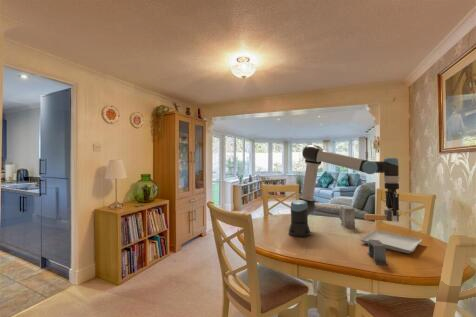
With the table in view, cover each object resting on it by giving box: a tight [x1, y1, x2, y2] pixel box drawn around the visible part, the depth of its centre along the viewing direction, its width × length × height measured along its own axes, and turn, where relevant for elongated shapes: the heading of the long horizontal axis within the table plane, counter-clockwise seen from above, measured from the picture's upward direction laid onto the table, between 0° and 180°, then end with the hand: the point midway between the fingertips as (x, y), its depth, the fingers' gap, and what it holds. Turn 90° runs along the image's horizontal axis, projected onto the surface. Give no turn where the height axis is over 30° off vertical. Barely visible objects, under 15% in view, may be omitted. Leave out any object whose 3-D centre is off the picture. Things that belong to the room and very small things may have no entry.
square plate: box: [359, 229, 423, 254], centre depth 142 cm, size 27×27×4 cm
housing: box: [367, 240, 389, 266], centre depth 120 cm, size 5×13×9 cm, turn 167°
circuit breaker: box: [338, 206, 356, 229], centre depth 183 cm, size 8×14×15 cm, turn 174°
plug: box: [363, 209, 401, 222], centre depth 143 cm, size 19×5×6 cm, turn 76°
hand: (392, 219), depth 141 cm, fingers closed on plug, 5 cm apart
